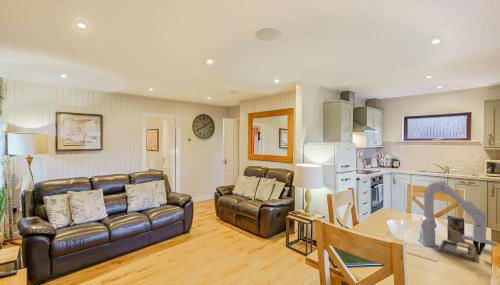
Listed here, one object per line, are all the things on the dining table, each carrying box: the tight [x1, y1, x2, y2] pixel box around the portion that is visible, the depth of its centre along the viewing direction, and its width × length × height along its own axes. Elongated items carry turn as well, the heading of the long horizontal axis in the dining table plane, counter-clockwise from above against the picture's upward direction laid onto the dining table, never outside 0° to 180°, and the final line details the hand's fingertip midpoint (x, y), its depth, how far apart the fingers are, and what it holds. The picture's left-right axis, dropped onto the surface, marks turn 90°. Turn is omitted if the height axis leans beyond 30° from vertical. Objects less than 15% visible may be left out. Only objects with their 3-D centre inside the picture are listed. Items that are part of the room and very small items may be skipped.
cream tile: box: [457, 246, 468, 254], centre depth 148 cm, size 5×5×2 cm
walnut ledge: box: [453, 242, 476, 262], centre depth 150 cm, size 9×20×2 cm, turn 135°
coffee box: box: [447, 215, 466, 243], centre depth 168 cm, size 9×6×16 cm
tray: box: [438, 239, 458, 256], centre depth 156 cm, size 7×18×2 cm, turn 136°
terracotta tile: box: [457, 242, 470, 248], centre depth 154 cm, size 5×5×2 cm
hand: (478, 254), depth 143 cm, fingers closed
